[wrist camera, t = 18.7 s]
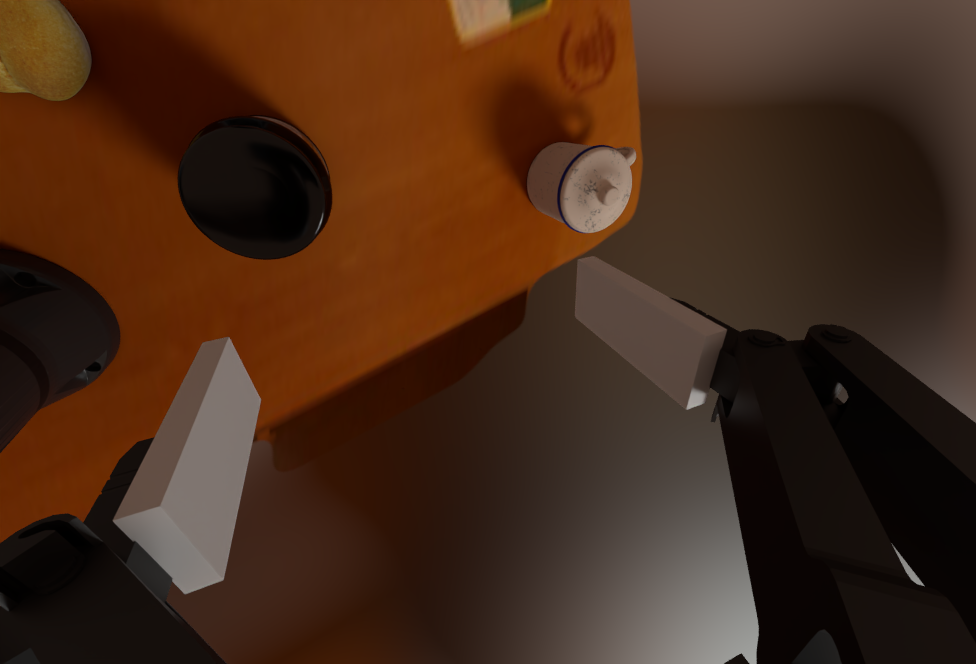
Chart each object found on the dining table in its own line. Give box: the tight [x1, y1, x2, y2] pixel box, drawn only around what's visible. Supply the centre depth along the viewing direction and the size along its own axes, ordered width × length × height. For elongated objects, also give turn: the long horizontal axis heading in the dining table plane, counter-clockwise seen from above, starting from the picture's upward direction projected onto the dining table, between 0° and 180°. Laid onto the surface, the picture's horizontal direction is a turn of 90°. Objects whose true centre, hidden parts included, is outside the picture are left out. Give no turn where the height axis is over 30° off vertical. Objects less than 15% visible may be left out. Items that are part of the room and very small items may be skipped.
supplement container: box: [178, 115, 332, 260], centre depth 33 cm, size 10×10×12 cm
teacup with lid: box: [527, 142, 636, 233], centre depth 44 cm, size 12×9×12 cm
